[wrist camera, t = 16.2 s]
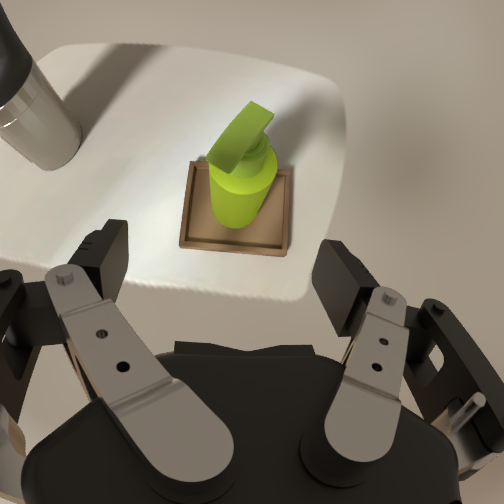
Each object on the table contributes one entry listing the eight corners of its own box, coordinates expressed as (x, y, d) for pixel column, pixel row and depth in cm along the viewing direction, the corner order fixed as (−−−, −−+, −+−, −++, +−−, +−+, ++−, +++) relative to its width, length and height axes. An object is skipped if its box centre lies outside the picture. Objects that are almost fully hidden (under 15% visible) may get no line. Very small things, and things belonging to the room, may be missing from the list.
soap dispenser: (197, 218, 37) (177, 140, 18) (228, 175, 39) (239, 73, 19) (237, 244, 37) (257, 189, 18) (267, 199, 39) (311, 113, 19)
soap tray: (180, 248, 38) (178, 245, 36) (191, 167, 40) (190, 161, 38) (283, 257, 39) (286, 254, 37) (287, 176, 41) (290, 170, 39)
